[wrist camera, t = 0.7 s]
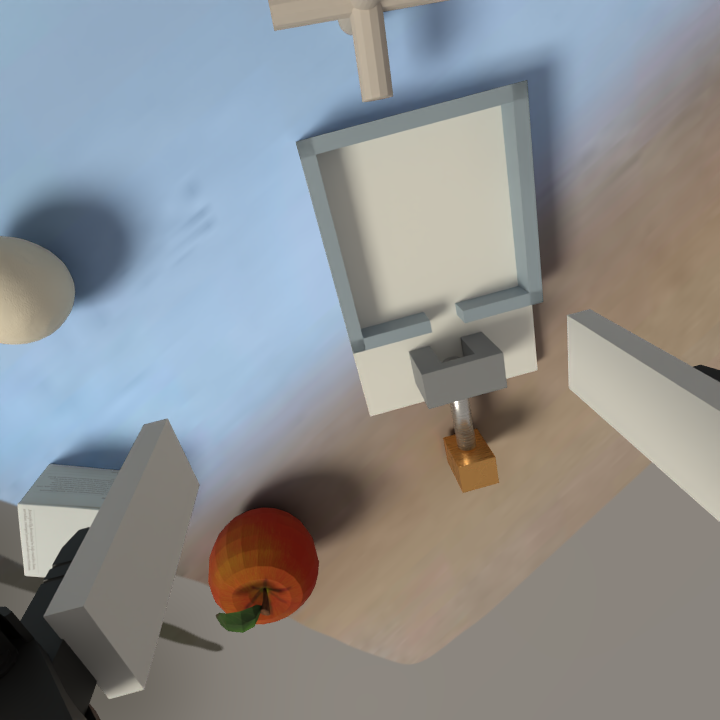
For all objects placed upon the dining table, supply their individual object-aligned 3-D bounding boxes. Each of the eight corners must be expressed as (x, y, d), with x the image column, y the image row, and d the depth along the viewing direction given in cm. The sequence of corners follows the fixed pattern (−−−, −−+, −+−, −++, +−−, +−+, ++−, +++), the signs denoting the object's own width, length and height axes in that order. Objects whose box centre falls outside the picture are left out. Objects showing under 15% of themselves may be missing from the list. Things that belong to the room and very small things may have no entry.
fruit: (317, 560, 48) (323, 656, 39) (221, 569, 47) (204, 669, 38) (315, 485, 44) (320, 572, 35) (210, 493, 43) (188, 584, 34)
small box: (47, 461, 40) (14, 502, 35) (145, 470, 41) (126, 510, 37) (51, 531, 43) (21, 578, 38) (142, 537, 44) (124, 583, 40)
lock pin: (427, 357, 39) (442, 380, 35) (463, 346, 39) (483, 369, 35) (447, 461, 44) (462, 492, 40) (480, 452, 44) (499, 482, 40)
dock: (295, 142, 32) (295, 141, 27) (506, 86, 32) (545, 74, 27) (368, 409, 41) (378, 445, 36) (531, 364, 42) (563, 394, 37)
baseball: (-4, 205, 31) (-75, 218, 25) (104, 264, 34) (63, 289, 28) (-38, 288, 33) (-111, 319, 27) (68, 338, 36) (21, 377, 30)
